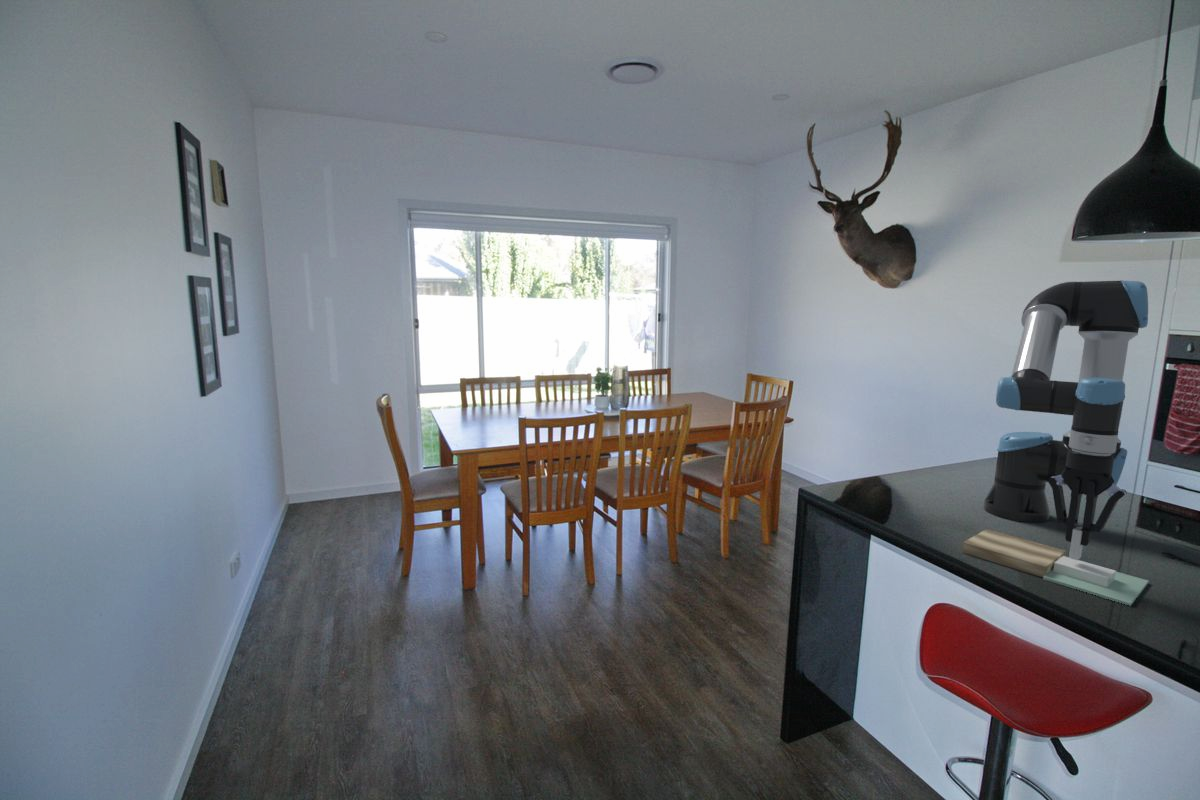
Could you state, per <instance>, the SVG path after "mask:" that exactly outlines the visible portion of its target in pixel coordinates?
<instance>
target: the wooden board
mask: <svg viewBox="0 0 1200 800" xmlns="http://www.w3.org/2000/svg"><path fill="white" fill-rule="evenodd" d="M1066 551H1067V550H1065V549H1060V548H1056V547H1052V546H1050V545H1046V544H1043V543H1039V542H1035V541H1032V540H1028V539H1024V538H1020V537H1017V536H1013V535H1009V534H1006V533H1002V532H1000V531H999V532H998V531H995V530H991V529H988V528H986V529H984V530H982V531H980V532H979V533H977V534H975V535H973V536H971V537H970V538H968V539H966V540H965V541H963V543H962V550H961V552H962V553H964V554H967V555H969V556H973V557H976V558H980V559H981V560H984V561H985V560H986V561H990V562H993V563H995V564H999V565H1001V566H1006V567H1008V568H1012V569H1015V570H1018V571H1021V572H1025V573H1028V574H1031V575H1034V576H1037V577H1041V578H1043V576H1044V575H1046V574H1047V573H1048V572H1049V571H1050V570H1052V569H1053V568H1054V563H1055V562H1056V561H1057V560H1059V559H1060V558H1061V557H1062V556H1066V553H1067V552H1066Z"/></svg>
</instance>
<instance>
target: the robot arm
mask: <svg viewBox="0 0 1200 800" xmlns="http://www.w3.org/2000/svg"><path fill="white" fill-rule="evenodd" d="M1148 294H1149V293H1148V288H1147V285H1146V284H1145V283H1144V282H1142V281H1138V280H1137V281H1136V280H1123V279H1122V280H1100V281H1099V280H1097V281H1095V280H1094V281H1092V280H1091V281H1065V282H1060V283H1057V284H1055V285H1052V286H1050V287H1047V288H1046V289H1044V290H1042V291H1040V292H1039V293H1038V294H1037V295H1035V296H1034V297H1033V298H1032V299H1031V300H1030V301H1029V302H1028V303H1027V305H1026V306H1025V307H1024V309H1023V311H1022V315H1021V321H1020V322H1021V325H1022V327H1023V330H1022V334H1021V337H1020V341H1019V345H1018V348H1017V349H1018V350H1017V354H1016V356H1015V357H1016V358H1015V360H1014V361H1015V362H1014V365H1013V368H1012V372H1011V376H1008V377H1007V376H1004V377H1000V378H999V380H998V383H997V388H996V394H995V397H996V398H995V403H996V406H997V407H999V408H1002V409H1007V410H1015V411H1023V412H1036V413H1048V414H1054V415H1055V414H1056V415H1064V416H1065V415H1066V416H1072V422H1071V423H1072V424H1071V427H1070V428H1071V429H1069V430H1068V431H1066V432H1065V433H1063V435H1062V440H1057V439H1054V437H1053V435H1052V434H1051V433H1049V432H1048V433H1047V432H1039V431H1015V432H1013V431H1012V432H1008V433H1005V434H1003V435H1001V437H1000V438H999V444H998V448H997V449H996V451H997V459H996V465H995V472H994V480H993V484H992V486H991V488H990V489H989V491H988V493H987V494H986V496H985V498H984V502H983V509H984V510H985V511H986V512H988V513H990V514H992V515H994V516H997V517H1000V518H1004V519H1008V520H1011V521H1012V520H1013V521H1017V522H1025V523H1044V522H1048V521H1049V520H1050V516H1051V509H1050V506H1049V502H1048V498H1047V494H1046V484H1047V483H1048V484H1049V486H1050V487H1051V490H1052V496H1053V502H1054V507H1055V508H1054V509H1055V514H1056V520H1057V522H1058V523H1060V524H1063V525H1065V526H1066V533H1065V541H1066V542H1069V543H1070V546H1069V554H1068V557H1069V558H1071V559H1075V560H1080V559H1081V557H1082V553H1083V547H1084V546H1085V547H1087V546H1088V545H1089V544H1090V543H1091V538H1092V537H1091V536H1092V532H1097V533H1099V532H1100V531H1102V530H1104V528H1105V526H1106V525H1107V524H1108V523H1107V522H1108V520H1109V519H1110V518H1111V515H1112V513H1113V511H1114V509H1116V505H1117V503H1118V502H1119V500H1120V499H1122V498H1123V497H1124V496H1125V495H1127V490H1126V489H1123V488H1122V489H1121V488H1120V487H1119V486H1117V485H1118V483H1119V480H1120V479H1121V478H1120V477H1121V475H1122V473H1123V470H1124V467H1125V463H1126V460H1127V457H1128V456H1127V455H1128V449H1126V448H1124V447H1121V445H1122V441H1121V439H1120V438H1119V428H1120V423H1121V418H1122V414H1123V413H1122V411H1123V406H1124V401H1125V398H1126V383H1125V382H1124V381H1123V380H1124V375H1125V374H1124V372H1125V367H1126V360H1127V355H1128V347H1129V343H1130V340H1132V339H1133V338H1135V337H1136V336H1138V335H1139V329H1144V328H1146V327H1147V326H1148V322H1149V296H1148ZM1065 326H1069V327H1078V332H1077V333H1078V335H1080V337H1082V339H1084V341H1083V349H1082V356H1081V357H1082V358H1081V361H1080V362H1081V363H1080V369H1079V375H1078V381H1077V382H1075V381H1063V380H1062V381H1061V380H1051V378H1052V377H1051V376H1052V371H1053V367H1054V362H1055V356H1056V351H1057V346H1058V341H1059V337H1060V333H1061V330H1063V328H1065ZM1063 486H1067V487H1068V489H1069V490H1070V491H1071V492H1070V503H1069V507H1068V509H1069V510H1068V513H1067V507H1066V501H1065V495H1064V494H1065V493H1064V488H1063ZM1104 492H1108V495H1109V498H1108V499H1107V501H1106V503H1105V505H1104V507H1103V509H1102V511H1101V513H1100V514H1099V517H1098V518H1097V520H1096V523H1094V521H1095V515H1096V513H1095V512H1096V507H1097V501H1098V497H1099V495H1101V494H1102V493H1104ZM1083 495H1085V507H1084V513H1083V519H1082V527H1081V526H1077V525H1078V524H1079V523H1078V521H1079V515H1080V509H1081V502H1082V496H1083Z"/></svg>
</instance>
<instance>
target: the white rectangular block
mask: <svg viewBox="0 0 1200 800" xmlns="http://www.w3.org/2000/svg"><path fill="white" fill-rule="evenodd" d="M1053 571H1054V572H1057V573H1061V574H1064V575H1067V576H1070V577H1074V578H1077V579H1080V580H1084V581H1087V582H1090V583H1093V584H1097V585H1100V586H1103V587H1108V586H1109V585H1110V584H1111V583H1112V582H1113V581H1114V580H1115V575H1116V572H1117V570H1114V569H1113V568H1112V569H1110V568H1108V567H1104V566H1101V565H1098V564H1093V563H1090V562H1086V561H1083V560H1080V559H1078V560H1075V559H1071V558H1069V556H1066V555H1065V556H1062V557H1061V558H1060V559H1059V560H1057V561H1056V562H1055V563H1054V569H1053Z"/></svg>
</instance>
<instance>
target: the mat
mask: <svg viewBox="0 0 1200 800" xmlns="http://www.w3.org/2000/svg"><path fill="white" fill-rule="evenodd" d="M1053 569H1054V568H1053ZM1053 569H1052V570H1050V571H1049V572H1048V573H1047V574H1046V575H1044V576H1043V577H1042V580H1044V581H1048V582H1050V583H1054V584H1057V585H1061V586H1063V587H1067V588H1070V589H1073V590H1076V589H1077V591H1079V590H1080V591H1079V592H1082V591H1083V592H1084V593H1086V592H1087V593H1086V594H1090V595H1092V594H1093V596H1095V595H1096V596H1095V597H1098V596H1099V598H1102V599H1106V600H1108V599H1109V601H1111V600H1112V602H1114V601H1115V603H1118V602H1119V603H1118V604H1121V603H1122V605H1124V604H1125V606H1127V605H1129V606H1128V607H1132V605H1133V604H1134V602H1135V601H1136V600H1137V599H1138V598H1139V596H1140V595H1141V593H1142V592H1143V591H1144V590H1145V588H1146V587H1147V586H1148V584H1149V580H1147V579H1144V578H1141V577H1137V576H1133V575H1129V574H1126V573H1123V572H1119V571H1116V575H1115V580H1114V581H1113V582H1112V583H1111V584H1110V585H1109V586H1108V587H1103V586H1100V585H1097V584H1093V583H1090V582H1087V581H1084V580H1080V579H1077V578H1074V577H1070V576H1067V575H1064V574H1061V573H1057V572H1054V571H1053ZM1136 598H1137V599H1136Z"/></svg>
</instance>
